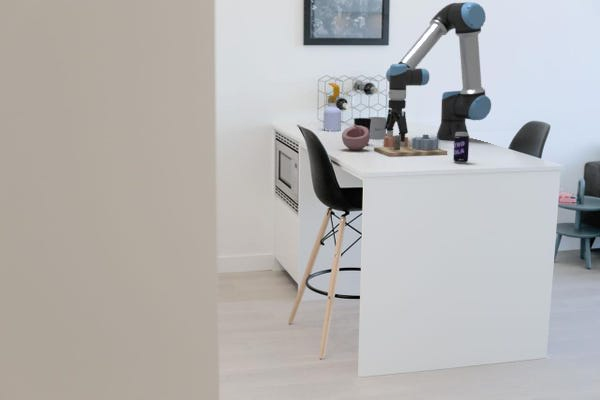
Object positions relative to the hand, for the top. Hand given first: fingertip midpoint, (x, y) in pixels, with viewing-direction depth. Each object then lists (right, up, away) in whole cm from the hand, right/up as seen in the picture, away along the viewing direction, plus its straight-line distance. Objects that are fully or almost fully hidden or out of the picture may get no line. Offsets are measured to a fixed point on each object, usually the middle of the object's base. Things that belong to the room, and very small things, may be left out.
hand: (395, 147), depth 380 cm
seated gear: (+11, -2, -15) cm, 19 cm away
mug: (-4, +6, +33) cm, 34 cm away
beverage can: (+21, -9, -44) cm, 50 cm away
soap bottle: (-26, +13, +65) cm, 71 cm away
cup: (-14, +1, +7) cm, 16 cm away
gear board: (+4, -3, -17) cm, 18 cm away
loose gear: (0, 0, 0) cm, 0 cm away
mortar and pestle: (-19, -2, -10) cm, 21 cm away
